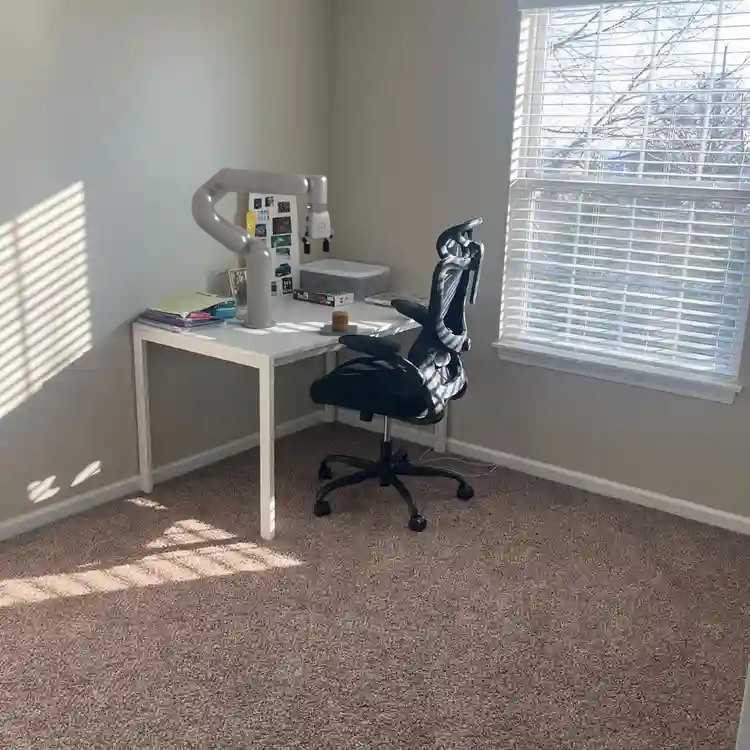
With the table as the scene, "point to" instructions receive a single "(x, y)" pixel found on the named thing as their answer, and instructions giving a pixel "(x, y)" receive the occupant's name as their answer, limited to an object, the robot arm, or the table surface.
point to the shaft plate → (329, 331)
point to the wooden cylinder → (340, 320)
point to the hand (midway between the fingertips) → (316, 252)
